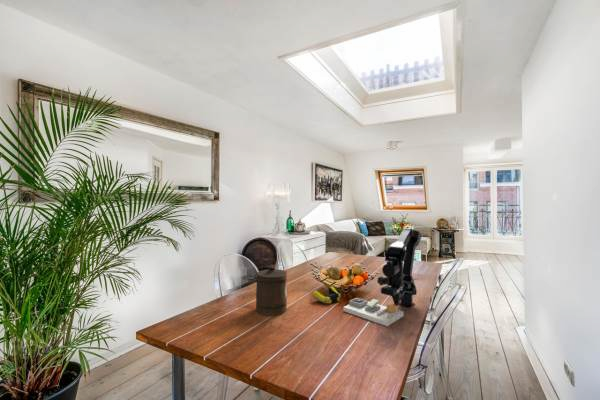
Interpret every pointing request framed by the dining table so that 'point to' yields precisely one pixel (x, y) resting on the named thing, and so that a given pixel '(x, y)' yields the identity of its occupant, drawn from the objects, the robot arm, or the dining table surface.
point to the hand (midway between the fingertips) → (396, 305)
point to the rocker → (372, 303)
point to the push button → (358, 300)
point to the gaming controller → (328, 296)
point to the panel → (373, 312)
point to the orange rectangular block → (391, 308)
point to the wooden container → (271, 291)
